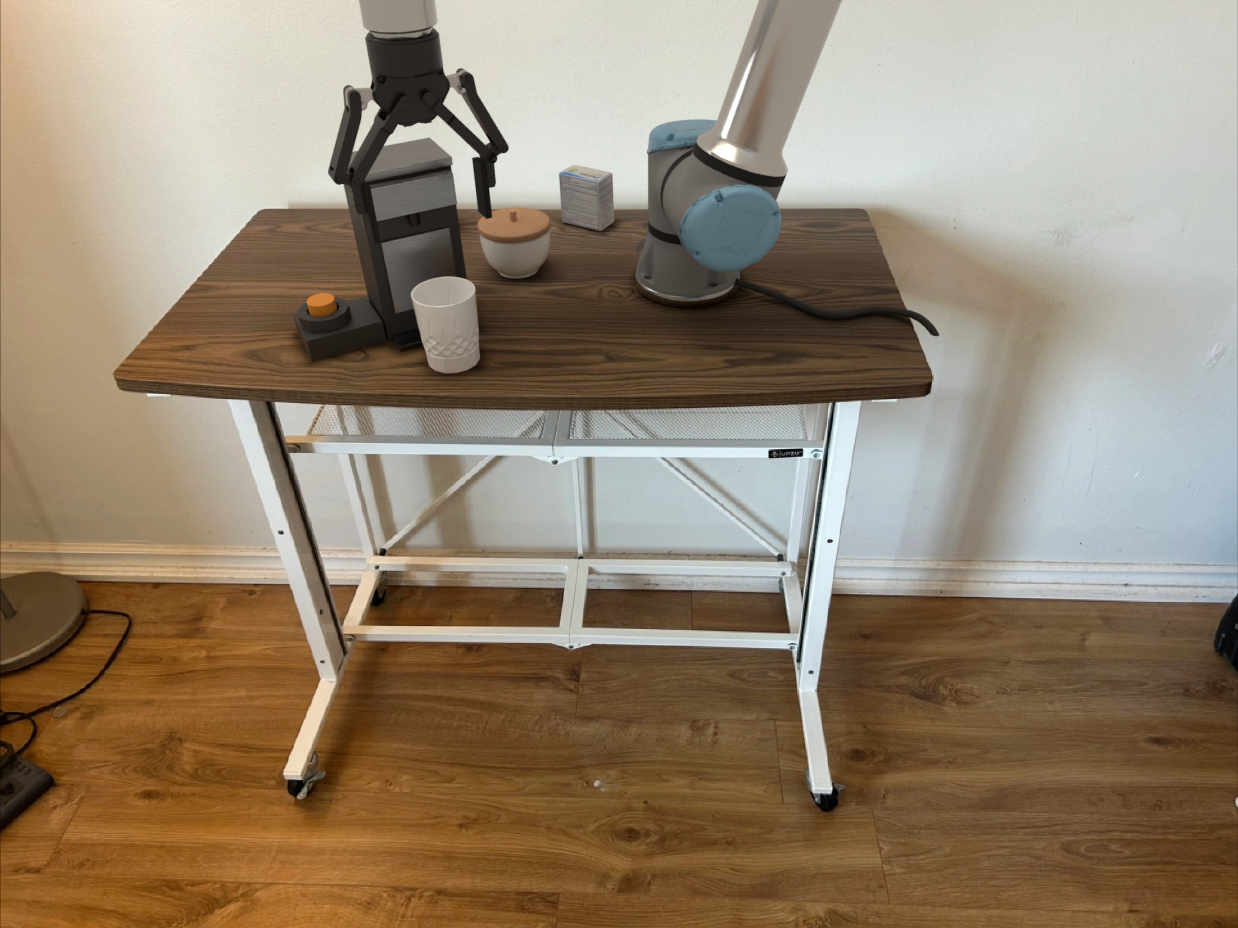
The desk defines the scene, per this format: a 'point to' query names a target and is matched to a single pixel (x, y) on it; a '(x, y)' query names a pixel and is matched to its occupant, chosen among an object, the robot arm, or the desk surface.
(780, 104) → the robot arm
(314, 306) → the button
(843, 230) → the desk surface
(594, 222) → the medicine box
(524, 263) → the trinket box
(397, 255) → the coffee machine
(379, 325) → the button base
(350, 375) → the desk surface
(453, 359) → the white cup
